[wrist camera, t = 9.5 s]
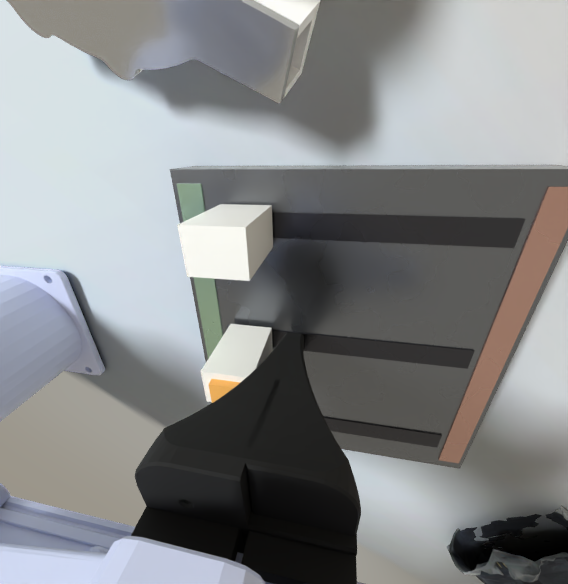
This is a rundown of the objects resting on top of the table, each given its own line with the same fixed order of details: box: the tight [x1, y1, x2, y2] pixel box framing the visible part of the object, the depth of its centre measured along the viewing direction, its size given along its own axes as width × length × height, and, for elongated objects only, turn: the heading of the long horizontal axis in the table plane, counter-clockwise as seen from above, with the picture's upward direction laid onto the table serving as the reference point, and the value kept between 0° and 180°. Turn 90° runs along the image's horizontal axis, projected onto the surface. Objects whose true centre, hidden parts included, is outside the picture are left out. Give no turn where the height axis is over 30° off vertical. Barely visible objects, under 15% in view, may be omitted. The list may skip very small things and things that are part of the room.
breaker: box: [177, 204, 273, 281], centre depth 9 cm, size 2×2×3 cm
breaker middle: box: [201, 324, 273, 403], centre depth 12 cm, size 2×2×4 cm
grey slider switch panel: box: [170, 165, 568, 468], centre depth 14 cm, size 14×15×2 cm
